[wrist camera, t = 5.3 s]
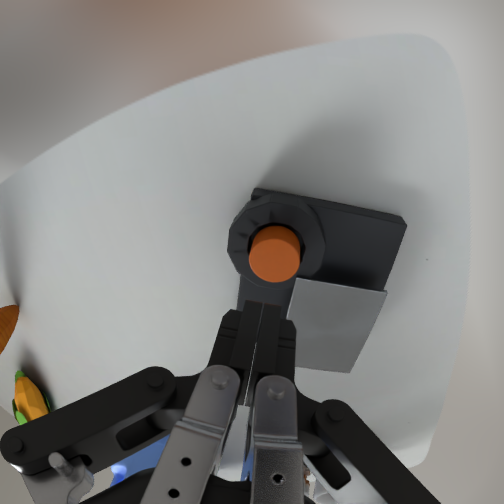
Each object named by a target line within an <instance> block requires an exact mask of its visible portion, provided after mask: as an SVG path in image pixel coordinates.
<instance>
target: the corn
mask: <svg viewBox="0 0 504 504" xmlns="http://www.w3.org/2000/svg"><path fill="white" fill-rule="evenodd" d="M42 392H43V391H42ZM43 395H44V398H43V396H42V394H41V393H40V391H39V389H38V388H37V387H36V386H35V385H34V384H33V383H32V382H31V381H30V380H29V379H28V377H26V376H25V374H24V373H23V372H21V371H17V372H16V375H15V400H14V399H13V401H12V405H13V412H14V415H15V419H16V420H17V421H18V423H19V424H20V425H22V424H24V423H27V422H29V421H31V420H34V419H36V418H39V417H41V416H43V415H46V414H48V413H50V412H51V410H50V406H49V402H48V400H47V398H46V395H45V393H44V392H43ZM44 399H45V400H44Z"/></svg>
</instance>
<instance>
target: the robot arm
mask: <svg viewBox="0 0 504 504" xmlns="http://www.w3.org/2000/svg"><path fill="white" fill-rule="evenodd" d="M262 304H263V303H262V302H257V301H251V300H245V303H244V307H243V312H242V311H237V310H232V309H230V310H229V311H228V312H227V313H226V314H225V315H224V316H223V318H222V321H221V324H220V328H219V331H218V334H217V337H216V340H215V344H214V347H213V350H212V353H211V357H210V360H209V363H208V365H207V367H206V368H205V369H204V370H203V371H202V372H200V373H198V374H196V375H193V376H181V377H174V375H173V374H172V373H171V372H170V371H169V370H168V369H165V368H163V367H158V366H154V367H148V368H146V369H143V370H141V371H139V372H137V373H135V374H133V375H131V376H129V377H127V378H125V379H123V380H121V381H119V382H117V383H114V384H112V385H110V386H108V387H106V388H104V389H102V390H100V391H97V392H95V393H93V394H91V395H89V396H87V397H84V398H82V399H80V400H78V401H75V402H73V403H71V404H69V405H66V406H64V407H62V408H60V409H57V410H55V411H53V412H50V413H48V414H46V415H43V416H41V417H39V418H36V419H34V420H31V421H29V422H27V423H24V424H22V425H19V426H17V427H14V428H12V429H10V430H8V431H6V432H5V433H4V435H3V436H2V438H1V441H0V451H1V454H2V456H3V457H4V459H5V460H6V461H7V462H9V463H10V464H11V465H12V466H13V467H14V468H15V469H16V470H17V471H18V472H19V473H20V474H21V475H22V477H23V480H24V482H25V484H26V486H27V488H28V490H29V492H30V495H31V497H32V498H33V501H34V502H35V504H315V502H314V501H312V500H311V499H310V498H308V497H307V496H305V495H304V464H303V462H304V463H305V465H306V466H307V467H308V468H309V470H310V471H311V472H312V473H313V475H314V476H315V477H316V478H317V480H318V481H319V482H320V483H321V485H322V486H323V487H324V488H325V489H326V491H327V492H328V493H329V494H330V495H331V497H332V498H333V499H334V500H335V501H336V503H337V504H441V503H440V502H439V501H438V500H437V499H436V498H435V497H434V496H433V495H432V494H431V493H430V492H429V491H428V490H427V489H426V488H425V487H424V486H423V485H422V484H421V482H420V481H419V480H418V479H417V478H416V477H415V476H414V475H413V474H412V473H411V472H410V471H409V470H408V469H407V468H406V467H405V466H404V465H403V464H402V463H401V462H400V460H399V459H398V458H397V457H396V456H395V455H394V454H393V453H392V452H391V451H390V450H389V449H388V448H387V447H386V446H385V444H384V443H383V442H382V441H381V440H380V439H379V438H378V437H377V436H376V435H375V434H374V433H373V432H372V430H371V429H370V428H369V427H368V426H367V425H366V424H365V423H364V422H363V421H362V420H361V418H360V417H359V416H358V415H357V414H356V413H355V412H354V411H353V410H352V409H351V407H350V406H349V405H347V404H346V403H345V402H343V401H340V400H336V399H330V400H326V401H323V402H322V403H319V402H317V401H314V400H312V399H310V398H308V397H306V396H304V395H303V394H302V393H301V392H300V391H299V390H298V389H297V387H296V385H295V382H294V374H295V355H296V334H297V330H296V328H295V325H294V323H293V321H292V320H287V319H281V308H282V306H280V305H274V304H268V303H264V307H263V312H262V316H261V310H262ZM260 316H261V321H260ZM259 322H260V326H259ZM258 327H259V331H258ZM257 333H258V336H257ZM256 339H257V342H256ZM255 344H256V347H255ZM254 350H255V353H254ZM253 356H254V359H253ZM252 361H253V364H252ZM251 367H252V370H251ZM250 372H251V375H250ZM249 376H250V381H249ZM248 381H249V386H248ZM247 386H248V392H247V397H246V403H245V406H249V407H250V411H249V417H248V421H247V426H246V437H245V449H244V460H243V469H242V474H241V481H235V482H231V481H227V480H224V479H222V478H220V477H217V473H218V469H219V465H220V462H221V458H222V455H223V452H224V449H225V446H226V443H227V439H228V436H229V433H230V430H231V426H232V423H233V420H234V419H235V417H236V413H237V408H238V405H243V404H244V399H245V395H246V390H247ZM169 434H170V435H169ZM167 435H169V438H168V440H167V442H166V445H165V447H164V449H163V451H162V454H161V456H160V458H159V461H158V463H157V465H156V467H153V468H148V469H145V470H141V471H139V472H137V473H135V474H133V475H131V476H129V477H128V478H126V479H124V480H122V481H120V482H119V483H117V484H115V485H113V486H111V487H110V488H108V489H106V490H104V491H102V492H100V493H98V494H96V495H94V496H93V497H90V498H89V499H87V500H85V501H83V502H80V503H79V501H80V499H81V498H82V497H83V496H84V495H85V494H87V493H88V492H89V491H90V490H91V489H92V487H93V485H94V476H93V474H95V473H97V472H99V471H101V470H103V469H105V468H107V467H109V466H111V465H113V464H115V463H117V462H119V461H121V460H123V459H125V458H127V457H129V456H131V455H133V454H135V453H136V452H138V451H140V450H142V449H144V448H146V447H148V446H149V445H151V444H153V443H155V442H157V441H158V440H160V439H162V438H164V437H165V436H167Z"/></svg>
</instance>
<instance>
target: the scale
mask: <svg viewBox="0 0 504 504" xmlns="http://www.w3.org/2000/svg"><path fill="white" fill-rule="evenodd" d="M269 226H283V227H286V228H288V229H290V230H291V231H292V232H293V233H294V234H295V235H296V236H297V238H298V240H299V243H300V265H299V268H298V270H297V272H296V273H295V274H294V275H293V276H292V277H291V278H289V279H288V280H285V281H282V282H269V281H265V280H263V279H261V278H260V277H258V276H257V275H256V274H255V273H254V272H253V270H252V269H251V266H250V263H249V255H250V251H251V248H252V244H253V241H254V238H255V236H256V235H257V233H258V232H259V231H261V230H262V229H264V228H266V227H269ZM406 227H407V224H406V223H405V221H404V220H403V218H402V217H400V216H395V215H391V214H387V213H382V212H378V211H373V210H369V209H364V208H359V207H355V206H350V205H345V204H340V203H335V202H330V201H325V200H320V199H315V198H309V197H304V196H298V195H293V194H287V193H281V192H276V191H270V190H264V189H258V188H254V190H253V192H252V195H251V201H249V202H248V203H247V204H246V205H245V206H244V208H243V209H242V210H241V211H240V212H239V214H238V215H237V216H236V217H235V219H234V221H233V223H232V225H231V227H230V229H229V238H228V248H227V252H228V254H229V256H230V258H231V260H232V262H233V264H234V266H235V268H236V270H237V272H238V273H239V274H241V279H240V287H239V295H238V303H237V311H242V312H243V307H244V303H245V300H251V301H257V302H262V303H263V304H262V310H261V316H262V312H263V307H264V303H268V304H274V305H280V306H282V308H281V319H286V315H287V311H288V307H289V303H290V299H291V295H292V291H293V287H294V283H295V279H296V276H303V277H309V278H315V279H321V280H326V281H332V282H338V283H344V284H350V285H356V286H362V287H368V288H374V289H381V290H383V289H384V287H385V284H386V282H387V279H388V277H389V274H390V271H391V269H392V266H393V264H394V261H395V258H396V256H397V253H398V250H399V247H400V245H401V242H402V239H403V236H404V233H405V230H406ZM261 316H260V321H261ZM259 326H260V322H259ZM258 331H259V327H258ZM257 336H258V333H257ZM256 342H257V339H256Z"/></svg>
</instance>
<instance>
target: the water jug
mask: <svg viewBox="0 0 504 504" xmlns="http://www.w3.org/2000/svg"><path fill="white" fill-rule="evenodd" d="M169 435H170V434H169ZM169 435H167V436H165V437H164V438H162V439H160V440H158V441H157V442H155V443H153V444H151V445H149V446H148V447H146V448H144V449H142V450H140V451H138V452H136V453H135V454H133V455H131V456H129V457H127V458H125V459H123V460H121V461H119V462H117V463H115V464H113V465H111V470H112V472H113V474H114V478H113V480H112V483H111V485H110V487H111V486H113V485H115V484H117V483H119V482H120V481H122V480H124V479H126V478H128V477H129V476H131V475H133V474H135V473H137V472H139V471H141V470H145V469H148V468H153V467H156V465H157V463H158V461H159V458H160V456H161V454H162V451H163V449H164V447H165V445H166V442H167V440H168V438H169Z"/></svg>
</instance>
